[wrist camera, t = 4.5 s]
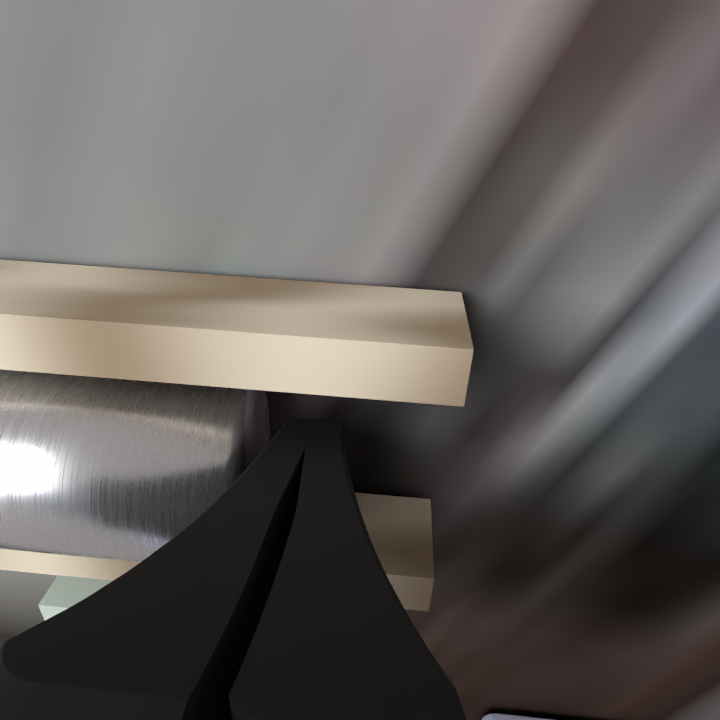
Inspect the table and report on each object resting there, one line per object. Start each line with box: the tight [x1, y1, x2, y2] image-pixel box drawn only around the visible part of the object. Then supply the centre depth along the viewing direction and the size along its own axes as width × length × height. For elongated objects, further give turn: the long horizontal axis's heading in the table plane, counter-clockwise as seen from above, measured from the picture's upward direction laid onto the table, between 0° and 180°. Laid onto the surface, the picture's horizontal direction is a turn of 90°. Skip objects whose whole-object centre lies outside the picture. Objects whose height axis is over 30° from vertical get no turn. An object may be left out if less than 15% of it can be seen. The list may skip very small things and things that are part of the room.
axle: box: [0, 369, 270, 562], centre depth 12 cm, size 9×4×4 cm, turn 88°
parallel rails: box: [0, 260, 474, 612], centre depth 12 cm, size 12×7×2 cm, turn 88°
